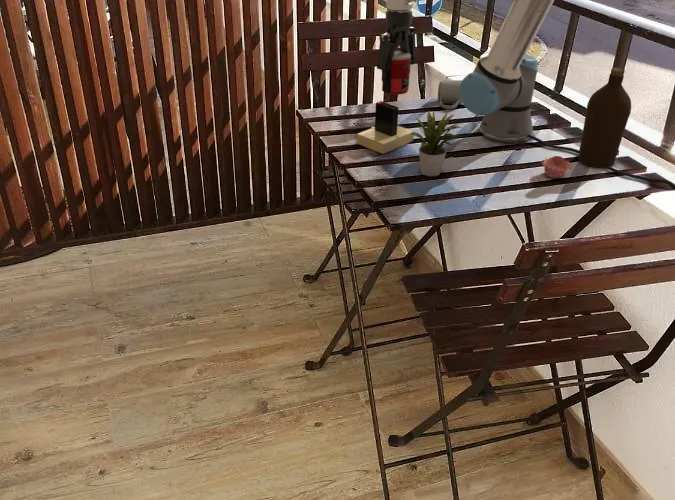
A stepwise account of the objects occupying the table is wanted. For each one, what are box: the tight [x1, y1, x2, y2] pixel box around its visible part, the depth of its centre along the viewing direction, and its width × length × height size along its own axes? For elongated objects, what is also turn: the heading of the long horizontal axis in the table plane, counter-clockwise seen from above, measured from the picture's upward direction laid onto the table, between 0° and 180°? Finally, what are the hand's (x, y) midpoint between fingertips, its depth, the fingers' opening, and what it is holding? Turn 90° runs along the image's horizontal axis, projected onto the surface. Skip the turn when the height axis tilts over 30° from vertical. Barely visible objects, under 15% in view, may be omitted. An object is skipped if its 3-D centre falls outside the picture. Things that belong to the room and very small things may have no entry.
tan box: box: [356, 125, 415, 155], centre depth 184 cm, size 13×11×3 cm
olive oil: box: [577, 67, 632, 169], centre depth 169 cm, size 11×11×25 cm
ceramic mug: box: [437, 79, 464, 110], centre depth 210 cm, size 11×8×8 cm
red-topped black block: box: [374, 100, 399, 137], centre depth 181 cm, size 6×2×8 cm, turn 44°
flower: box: [541, 155, 574, 179], centre depth 166 cm, size 8×8×6 cm
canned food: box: [384, 50, 411, 95], centre depth 193 cm, size 8×8×11 cm
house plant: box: [410, 109, 464, 177], centre depth 163 cm, size 14×14×16 cm
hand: (395, 88), depth 196 cm, fingers closed on canned food, 8 cm apart
